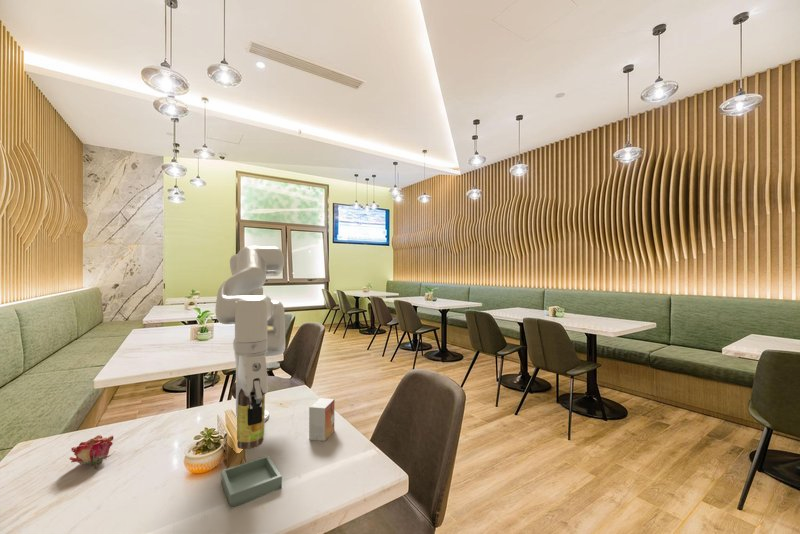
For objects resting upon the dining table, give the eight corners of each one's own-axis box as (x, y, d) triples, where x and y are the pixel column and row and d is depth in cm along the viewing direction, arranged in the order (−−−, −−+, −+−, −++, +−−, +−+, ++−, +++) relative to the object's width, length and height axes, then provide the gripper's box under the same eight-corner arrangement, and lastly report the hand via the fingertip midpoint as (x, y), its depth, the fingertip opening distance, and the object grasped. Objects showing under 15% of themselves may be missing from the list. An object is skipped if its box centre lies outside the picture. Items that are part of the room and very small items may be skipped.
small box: (325, 442, 105) (325, 408, 105) (308, 440, 106) (308, 407, 106) (334, 429, 113) (335, 398, 113) (319, 428, 114) (319, 397, 114)
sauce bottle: (254, 452, 80) (254, 369, 80) (231, 450, 81) (231, 368, 81) (269, 439, 86) (269, 362, 87) (247, 436, 88) (248, 361, 88)
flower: (123, 456, 94) (120, 428, 97) (82, 467, 86) (80, 436, 89) (103, 470, 96) (100, 443, 99) (61, 482, 88) (60, 451, 91)
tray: (221, 482, 85) (221, 470, 85) (268, 466, 92) (268, 455, 92) (230, 508, 76) (230, 495, 76) (281, 488, 83) (281, 476, 83)
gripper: (277, 351, 80) (277, 427, 79) (257, 339, 93) (257, 404, 93) (243, 356, 75) (243, 436, 75) (228, 343, 89) (227, 411, 89)
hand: (251, 418), depth 84 cm, fingers closed on sauce bottle, 6 cm apart
